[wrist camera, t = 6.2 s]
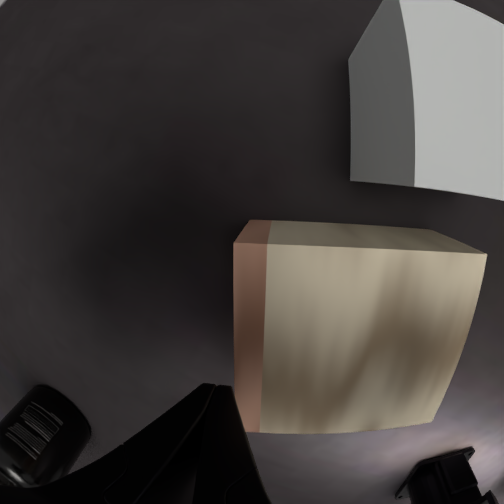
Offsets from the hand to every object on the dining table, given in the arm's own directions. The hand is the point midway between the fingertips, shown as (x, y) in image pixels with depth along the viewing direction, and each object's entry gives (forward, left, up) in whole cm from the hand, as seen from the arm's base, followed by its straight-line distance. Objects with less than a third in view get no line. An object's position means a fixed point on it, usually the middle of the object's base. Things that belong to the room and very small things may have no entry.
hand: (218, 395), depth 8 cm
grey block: (+9, -8, -7) cm, 14 cm away
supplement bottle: (-13, +16, -7) cm, 22 cm away
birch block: (0, 0, -5) cm, 5 cm away
